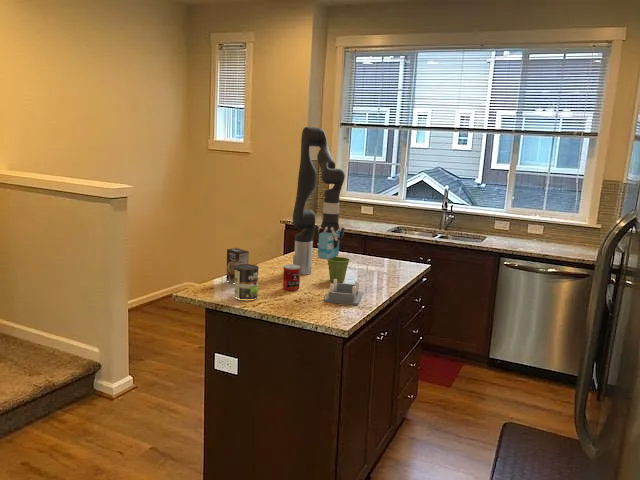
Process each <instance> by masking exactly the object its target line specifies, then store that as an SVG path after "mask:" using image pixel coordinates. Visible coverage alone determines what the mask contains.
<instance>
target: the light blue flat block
mask: <svg viewBox="0 0 640 480" xmlns="http://www.w3.org/2000/svg"><path fill="white" fill-rule="evenodd" d="M336 232H337V235H338V237H340V233H341V231H338V230H337V231H336ZM336 232H335V233H336ZM317 244H318V246H317V247H318V248H317V249H318V250H317V257H318V259H322V260H327V259H330V258H333V257H339V254H340V240H338V247H337V248H336V249H334V245H335V238H334V236H333V233H330V232H323V231H322V232H320V234H319V238H318V243H317Z"/></svg>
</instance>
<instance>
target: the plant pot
mask: <svg viewBox="0 0 640 480" xmlns="http://www.w3.org/2000/svg"><path fill="white" fill-rule="evenodd" d="M326 261H327V265H328V273H329V280H330V281H331V282H332V283H334V279H337V283H342V282H345V280H346V275H347V269H348V266H349V262H350V261H351V259H350V258H349V257H344V256H336V257H333V258H330V259H326Z"/></svg>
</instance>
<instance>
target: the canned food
mask: <svg viewBox="0 0 640 480" xmlns="http://www.w3.org/2000/svg"><path fill="white" fill-rule="evenodd" d="M282 275H283V277H282V278H283V281H282V289H283V290H284V289H285V290H284V291H287V290H288V292H296V291H295V290H297V291H298V289H299V290H300V279H301V278H300V277H301V274H300V266H299V265H294V264H293V263H291V264H290V263H289V264H284V266H283V274H282Z"/></svg>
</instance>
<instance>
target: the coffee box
mask: <svg viewBox="0 0 640 480" xmlns="http://www.w3.org/2000/svg"><path fill="white" fill-rule="evenodd" d="M249 255H250V252H249V250H245V249H242V248H239V247H238V248H237V247H236V248H235V247H234V248H227V249H226V279H225V280H226V281H225V282H227V281H229V282H232V283H235V266H236V265H240V264H249V259H250V258H249ZM229 282H228V283H229ZM232 283H231V284H232Z"/></svg>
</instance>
